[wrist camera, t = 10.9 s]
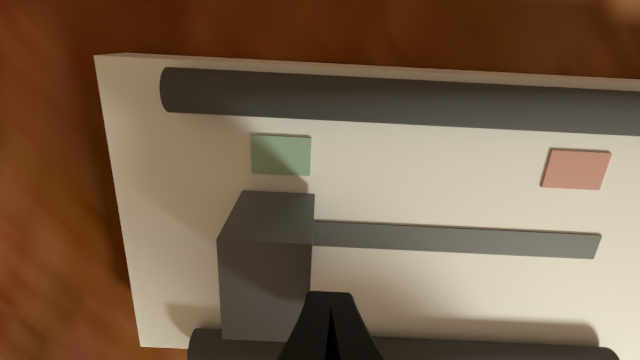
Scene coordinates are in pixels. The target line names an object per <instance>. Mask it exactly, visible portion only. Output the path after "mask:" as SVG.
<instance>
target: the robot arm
mask: <svg viewBox="0 0 640 360" xmlns="http://www.w3.org/2000/svg"><path fill="white" fill-rule="evenodd" d="M276 360H385V358H384V357H383V355H382V354H381V352H380V350H379V349H378V347H377V345H376V343H375V342H374V340H373V338H372V336H371V335H370V333H369V331H368V329H367V327H366V325H365V323H364V321H363V319H362V317H361V315H360V313H359V311H358V309H357V306H356V304H355V301H354V298H353V296H352V295H351V294H350V293H349V292H328V291H309V292H308V293H306V299H305V302H304V305H303V308H302V311H301V313H300V316H299V318H298V320H297V322H296V324H295V326H294V328H293V330H292V332H291V334H290V337H289V338H288V340H287V342H286V344H285V346H284V347H283V349H282V351H281V352H280V354H279V356H278V357H277V359H276Z"/></svg>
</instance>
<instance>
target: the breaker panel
mask: <svg viewBox="0 0 640 360" xmlns="http://www.w3.org/2000/svg"><path fill="white" fill-rule="evenodd" d="M94 62H95V68H96V74H97V80H98V86H99V93H100V99H101V105H102V111H103V117H104V123H105V130H106V136H107V142H108V148H109V154H110V161H111V167H112V173H113V179H114V185H115V191H116V198H117V204H118V210H119V216H120V222H121V229H122V235H123V241H124V247H125V253H126V260H127V266H128V272H129V278H130V284H131V290H132V297H133V303H134V309H135V315H136V321H137V328H138V334H139V340H140V346H141V347H162V348H184V349H188V346H189V341H190V337H191V335H192V332H193V330H194V329H195V328H201V329H221V313H220V296H219V279H218V262H217V245H216V239H217V237H218V235H219V233H220V231H221V230H222V228H223V226H224V224H225V222H226V220H227V218H228V216H229V215H230V213H231V211H232V209H233V207H234V205H235V203H236V201H237V199H238V198H239V196H240V194H241V192H242V190H249V191H269V192H289V193H310V194H315V205H314V226H313V247H312V267H311V287H310V291H328V292H349V293H350V294H351V295H352V296H353V298H354V301H355V304H356V306H357V309H358V311H359V313H360V315H361V317H362V319H363V321H364V323H365V325H366V327H367V329H368V331H369V333H370V335H371V336H374V337H396V338H418V339H439V340H461V341H483V342H504V343H526V344H548V345H569V346H591V347H607V348H610V349H611V350H613V351H614V352H615V353H616V354H617V356H618V357H619V359H620V360H640V136H622V135H602V134H583V133H563V132H543V131H524V130H504V129H484V128H465V127H445V126H425V125H406V124H386V123H366V122H347V121H327V120H307V119H288V118H268V117H248V116H229V115H209V114H189V113H170V112H167V111H166V110H165V109H164V107H163V105H162V102H161V98H160V90H159V84H160V77H161V73H162V71H163V69H164V68H165V67H179V68H199V69H218V70H237V71H257V72H276V73H295V74H314V75H334V76H353V77H372V78H392V79H411V80H430V81H449V82H469V83H488V84H507V85H527V86H546V87H565V88H584V89H604V90H623V91H640V79H623V78H603V77H584V76H565V75H546V74H527V73H507V72H488V71H469V70H450V69H431V68H411V67H392V66H373V65H354V64H335V63H316V62H296V61H277V60H258V59H239V58H220V57H200V56H181V55H162V54H143V53H117V54H105V55H94Z"/></svg>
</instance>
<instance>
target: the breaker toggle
mask: <svg viewBox="0 0 640 360" xmlns="http://www.w3.org/2000/svg"><path fill="white" fill-rule="evenodd" d="M314 205H315V194H310V193H289V192H269V191H249V190H242V192H241V194H240V196H239V198H238V199H237V201H236V203H235V205H234V207H233V209H232V211H231V213H230V215H229V216H228V218H227V220H226V222H225V224H224V226H223V228H222V230H221V231H220V233H219V235H218V237H217V239H216V245H217V262H218V279H219V296H220V313H221V330H222V339H230V340H251V341H273V342H287V340H288V338H289V337H290V334H291V332H292V330H293V328H294V326H295V324H296V322H297V320H298V318H299V316H300V313H301V311H302V308H303V305H304V302H305V299H306V293H308V292H309V291H310V287H311V267H312V247H313V226H314Z"/></svg>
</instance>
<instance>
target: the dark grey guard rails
mask: <svg viewBox="0 0 640 360" xmlns="http://www.w3.org/2000/svg"><path fill="white" fill-rule="evenodd" d="M159 90H160V98H161V102H162V105H163V107H164V109H165V110H166V111H167V112H170V113H189V114H209V115H229V116H248V117H268V118H288V119H307V120H327V121H347V122H366V123H386V124H406V125H425V126H445V127H465V128H484V129H504V130H524V131H543V132H563V133H583V134H602V135H622V136H640V91H623V90H604V89H584V88H565V87H546V86H527V85H507V84H488V83H469V82H449V81H430V80H411V79H392V78H372V77H353V76H334V75H314V74H295V73H276V72H257V71H237V70H218V69H199V68H179V67H165V68H164V69H163V71H162V73H161V77H160V84H159ZM372 338H373V340H374V342H375V343H376V345H377V347H378V349H379V350H380V352H381V354H382V355H383V357H384V358H385V360H620V359H619V357H618V356H617V354H616V353H615V352H614V351H613V350H611V349H610V348H607V347H591V346H569V345H548V344H526V343H504V342H483V341H461V340H439V339H418V338H396V337H374V336H372ZM285 344H286V342H273V341H251V340H230V339H222V330H221V329H201V328H195V329H194V330H193V332H192V335H191V337H190V341H189V346H188V354H187V359H188V360H276V359H277V357H278V356H279V354H280V352H281V351H282V349H283V347H284V346H285Z"/></svg>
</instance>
